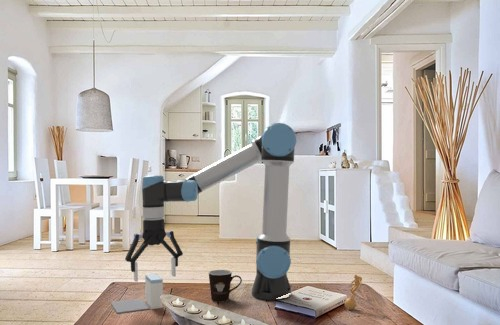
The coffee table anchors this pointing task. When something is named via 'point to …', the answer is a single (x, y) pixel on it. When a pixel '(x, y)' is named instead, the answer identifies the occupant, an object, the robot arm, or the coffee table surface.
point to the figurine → (350, 302)
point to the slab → (153, 291)
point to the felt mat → (129, 305)
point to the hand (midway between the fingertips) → (155, 278)
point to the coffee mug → (221, 284)
